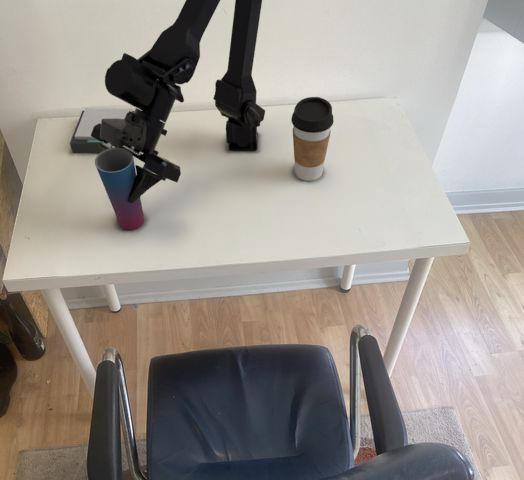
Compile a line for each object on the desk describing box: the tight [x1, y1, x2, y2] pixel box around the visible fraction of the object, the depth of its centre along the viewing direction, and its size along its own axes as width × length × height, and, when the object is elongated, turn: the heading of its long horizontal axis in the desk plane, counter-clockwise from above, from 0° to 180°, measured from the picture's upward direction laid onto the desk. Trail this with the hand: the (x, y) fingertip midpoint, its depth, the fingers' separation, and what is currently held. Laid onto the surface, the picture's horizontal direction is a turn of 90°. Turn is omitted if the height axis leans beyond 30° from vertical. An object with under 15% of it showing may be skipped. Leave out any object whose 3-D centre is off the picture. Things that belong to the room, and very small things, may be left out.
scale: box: [69, 107, 135, 154], centre depth 124 cm, size 13×13×3 cm
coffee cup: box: [290, 96, 335, 182], centre depth 111 cm, size 8×8×15 cm
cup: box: [94, 148, 145, 231], centre depth 103 cm, size 7×7×15 cm
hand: (118, 195), depth 102 cm, fingers closed on cup, 6 cm apart
